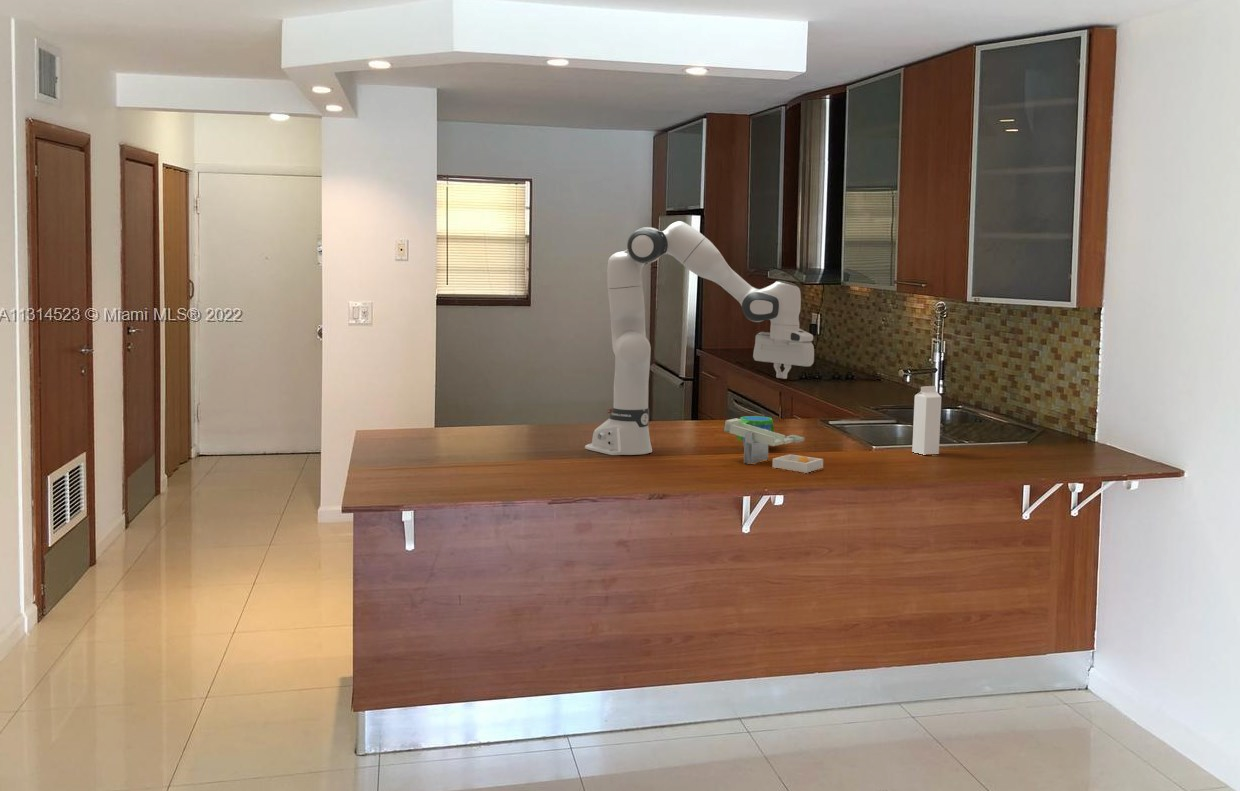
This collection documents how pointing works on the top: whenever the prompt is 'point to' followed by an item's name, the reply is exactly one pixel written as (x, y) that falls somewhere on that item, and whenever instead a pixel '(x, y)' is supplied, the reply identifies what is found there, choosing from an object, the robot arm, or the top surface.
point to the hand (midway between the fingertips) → (781, 378)
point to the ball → (803, 459)
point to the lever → (759, 433)
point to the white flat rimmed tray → (797, 463)
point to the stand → (754, 449)
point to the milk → (926, 421)
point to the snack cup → (757, 423)
